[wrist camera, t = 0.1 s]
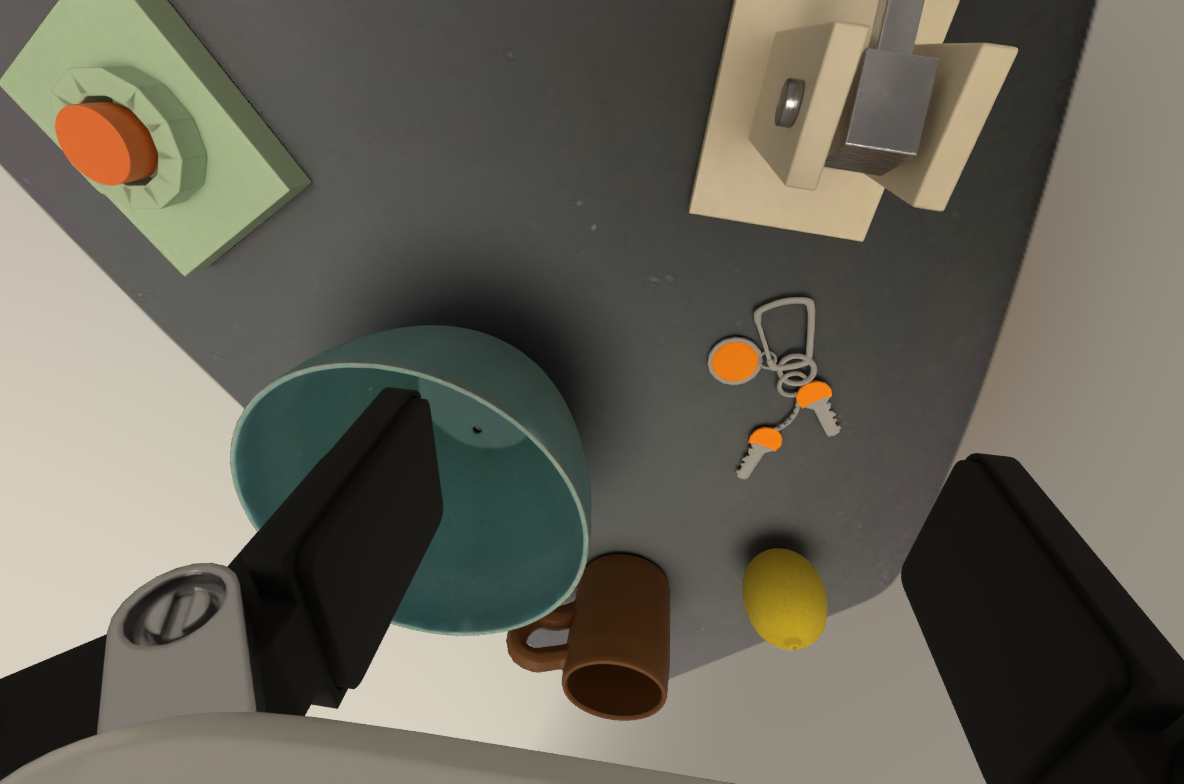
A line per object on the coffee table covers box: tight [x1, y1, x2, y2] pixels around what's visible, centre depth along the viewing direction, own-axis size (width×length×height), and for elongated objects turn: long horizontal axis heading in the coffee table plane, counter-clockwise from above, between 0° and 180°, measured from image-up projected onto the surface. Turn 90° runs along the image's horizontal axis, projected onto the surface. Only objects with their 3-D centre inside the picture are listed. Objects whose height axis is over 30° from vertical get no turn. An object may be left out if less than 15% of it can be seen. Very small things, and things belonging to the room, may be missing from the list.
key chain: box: [708, 297, 841, 479], centre depth 34 cm, size 13×7×1 cm, turn 16°
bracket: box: [689, 0, 1018, 241], centre depth 21 cm, size 12×9×12 cm
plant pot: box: [230, 325, 591, 636], centre depth 32 cm, size 18×18×12 cm
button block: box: [0, 0, 312, 276], centre depth 29 cm, size 12×10×4 cm
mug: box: [506, 554, 670, 721], centre depth 42 cm, size 12×8×9 cm, turn 79°
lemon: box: [743, 548, 827, 650], centre depth 38 cm, size 6×6×8 cm
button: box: [55, 102, 158, 186], centre depth 27 cm, size 4×4×2 cm
